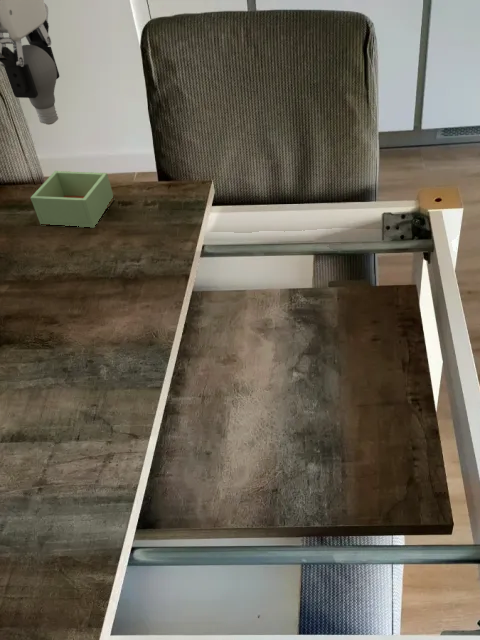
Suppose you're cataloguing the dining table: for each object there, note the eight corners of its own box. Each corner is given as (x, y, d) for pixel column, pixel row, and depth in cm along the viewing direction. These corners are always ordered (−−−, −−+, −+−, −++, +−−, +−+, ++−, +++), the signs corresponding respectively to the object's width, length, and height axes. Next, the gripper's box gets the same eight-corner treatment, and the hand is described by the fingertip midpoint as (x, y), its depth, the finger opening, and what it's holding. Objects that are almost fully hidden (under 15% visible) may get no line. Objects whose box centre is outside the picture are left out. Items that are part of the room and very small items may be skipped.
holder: (40, 225, 102) (30, 197, 98) (64, 197, 108) (54, 170, 104) (94, 228, 101) (85, 200, 97) (114, 200, 106) (107, 172, 103)
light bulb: (60, 132, 91) (35, 53, 84) (21, 131, 92) (-8, 52, 85) (78, 115, 95) (56, 38, 88) (40, 114, 96) (14, 37, 89)
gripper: (-9, -89, 83) (40, 65, 96) (-86, -59, 72) (-19, 111, 85) (46, -90, 82) (88, 66, 96) (-23, -59, 71) (35, 113, 84)
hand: (37, 86), depth 90 cm, fingers closed on light bulb, 6 cm apart
